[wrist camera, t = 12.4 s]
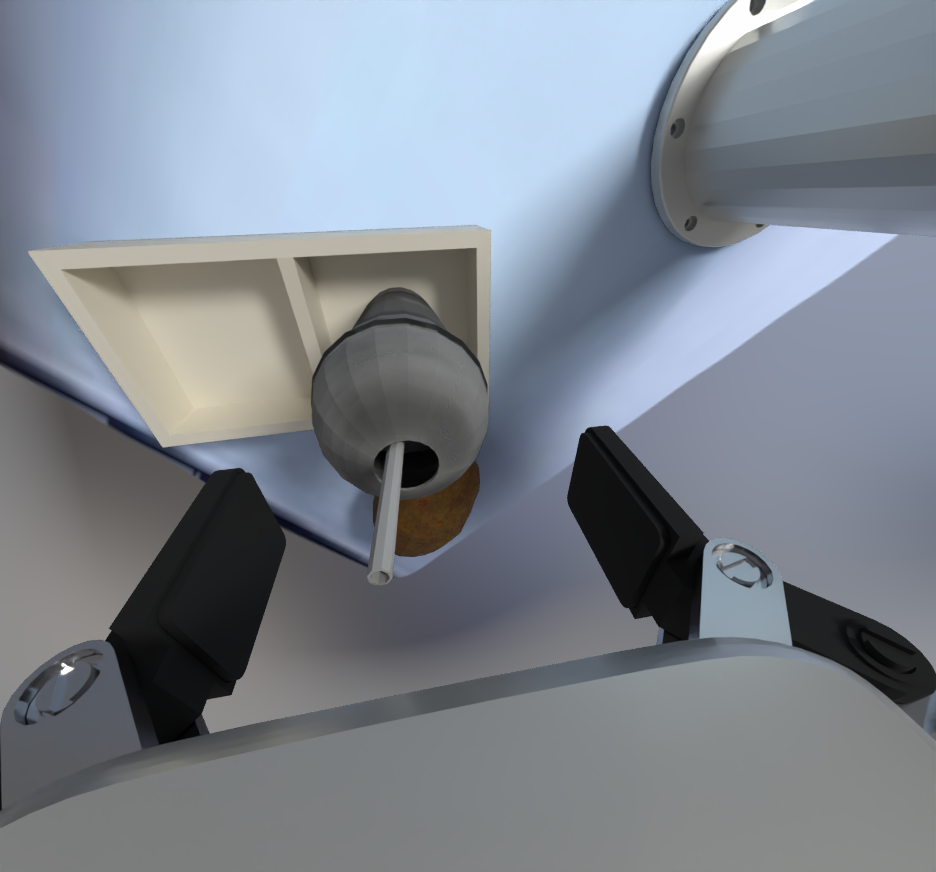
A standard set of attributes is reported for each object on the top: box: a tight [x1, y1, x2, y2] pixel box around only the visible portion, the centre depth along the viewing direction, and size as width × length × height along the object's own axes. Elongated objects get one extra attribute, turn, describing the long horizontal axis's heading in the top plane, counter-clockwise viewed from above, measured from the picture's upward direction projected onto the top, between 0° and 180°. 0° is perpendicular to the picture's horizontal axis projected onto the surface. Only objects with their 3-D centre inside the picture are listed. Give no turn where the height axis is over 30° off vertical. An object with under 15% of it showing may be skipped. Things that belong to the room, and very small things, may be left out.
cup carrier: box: [28, 225, 491, 447], centre depth 22 cm, size 22×11×4 cm, turn 91°
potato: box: [373, 461, 480, 557], centre depth 29 cm, size 8×12×8 cm, turn 149°
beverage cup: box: [311, 287, 488, 586], centre depth 15 cm, size 7×7×20 cm
